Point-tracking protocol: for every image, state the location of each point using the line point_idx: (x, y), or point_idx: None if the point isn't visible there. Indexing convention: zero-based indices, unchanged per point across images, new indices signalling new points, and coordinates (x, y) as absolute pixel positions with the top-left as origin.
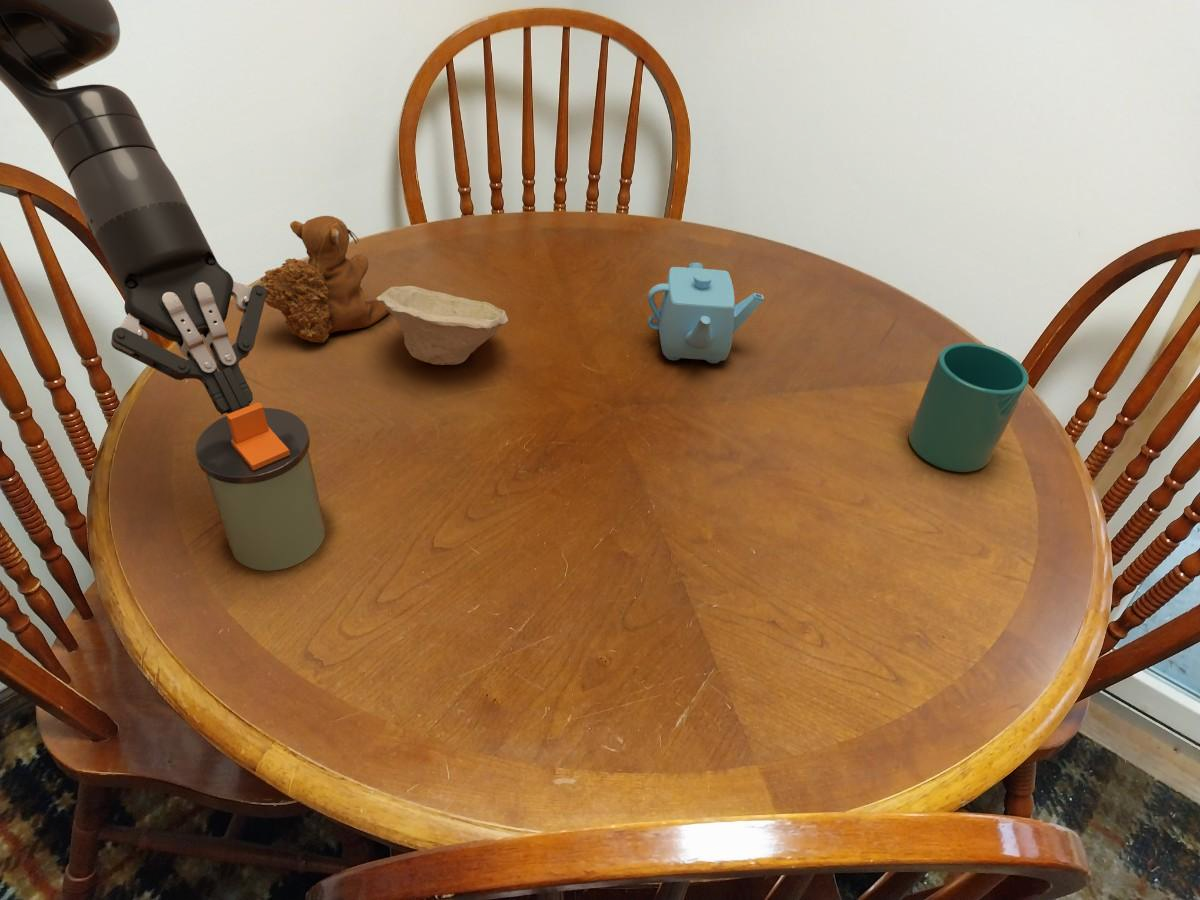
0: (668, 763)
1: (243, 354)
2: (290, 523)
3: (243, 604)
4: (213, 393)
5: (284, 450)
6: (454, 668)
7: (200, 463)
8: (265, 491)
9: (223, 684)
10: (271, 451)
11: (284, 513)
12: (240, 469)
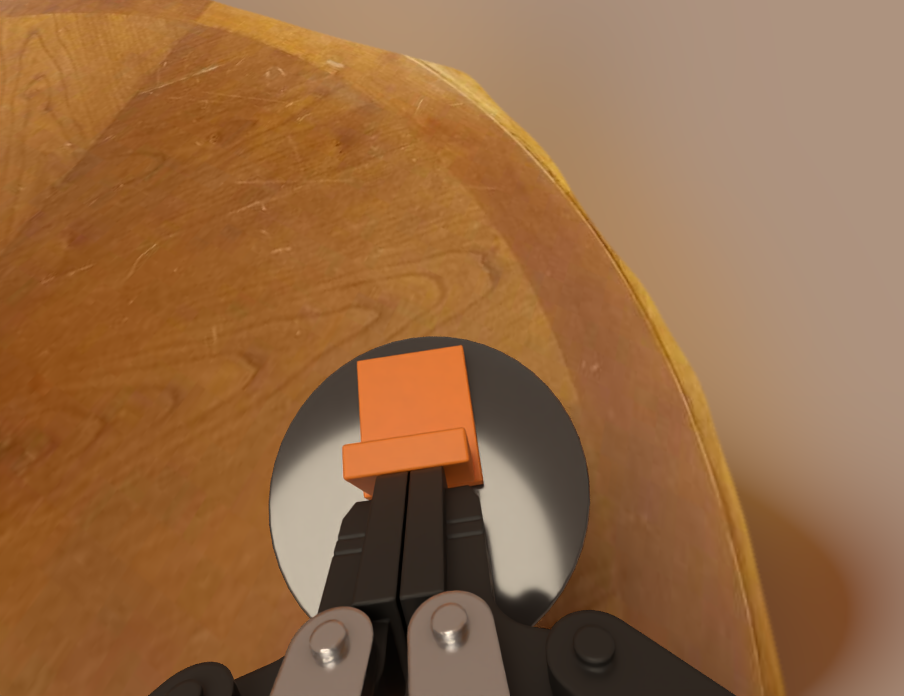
0: (251, 46)
1: (247, 678)
2: None
3: None
4: (480, 538)
5: (368, 361)
6: (351, 190)
7: (583, 453)
8: None
9: (607, 283)
10: (398, 375)
11: None
12: (490, 376)
